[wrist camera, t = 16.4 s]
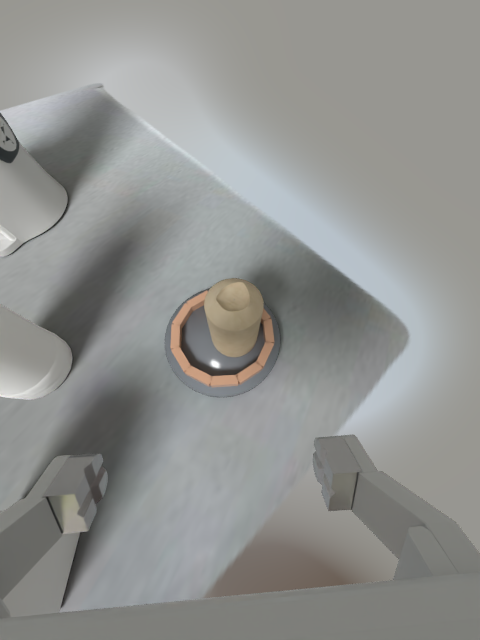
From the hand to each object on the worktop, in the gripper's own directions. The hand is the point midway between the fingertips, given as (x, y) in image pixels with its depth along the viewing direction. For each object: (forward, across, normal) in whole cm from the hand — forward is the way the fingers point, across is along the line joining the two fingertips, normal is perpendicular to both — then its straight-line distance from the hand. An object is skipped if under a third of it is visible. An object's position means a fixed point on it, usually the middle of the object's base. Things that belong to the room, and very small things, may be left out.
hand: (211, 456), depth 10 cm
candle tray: (+22, 0, +6) cm, 23 cm away
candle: (+22, -2, +5) cm, 22 cm away
